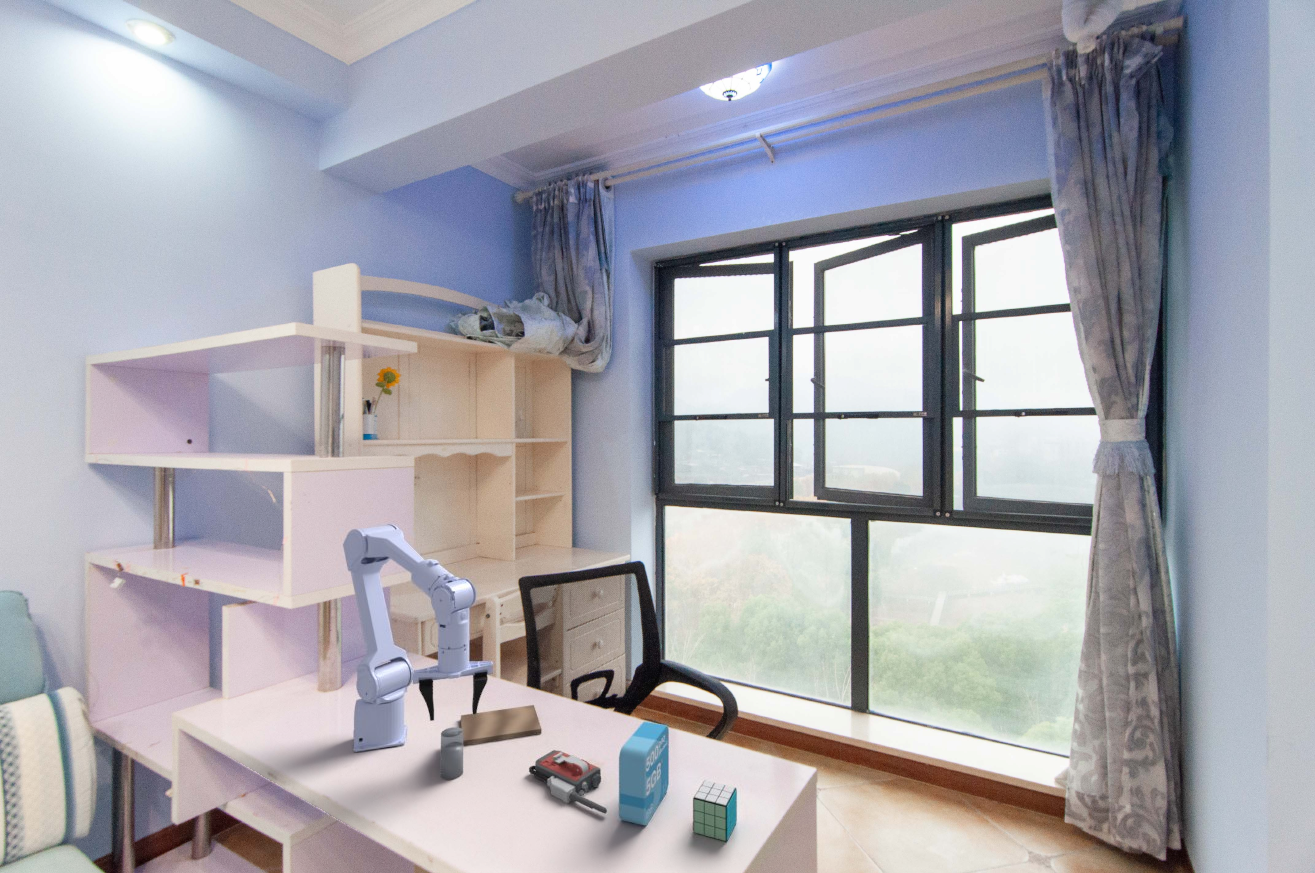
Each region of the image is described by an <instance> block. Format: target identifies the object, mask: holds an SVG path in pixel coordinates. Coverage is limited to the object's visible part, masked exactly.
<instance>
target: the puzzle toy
mask: <svg viewBox="0 0 1315 873" xmlns="http://www.w3.org/2000/svg"><path fill="white" fill-rule="evenodd" d="M737 790H738V789H737V787H735V786H732V785H729V784H728V785H726V784H723V783H718V782H715V781H711V780H707V779H705V780H704V781H703V782H702V783H701V785H700V786H699V788H698V790H697V791H696V793H695V794H694V796H693V798H692V832H693V833H695V834H699V835H701V836H704V837H709V838H712V839H716V840H719V841H723V842H727V841H728V840H729V838H730V836H731V834H732V832H733V830H734V827H735V826H736V823H737V822H738V819H737V818H738V817H737V816H738V815H737V812H738V810H737V809H738V800H737V799H738V798H737V797H738V796H737V795H738V794H737V792H738V791H737Z"/></svg>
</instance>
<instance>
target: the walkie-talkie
mask: <svg viewBox="0 0 1315 873" xmlns="http://www.w3.org/2000/svg"><path fill="white" fill-rule="evenodd" d="M528 772H529V773H530V774H531V775H533V776H534V777H535V779H537V780H539V781H541V782H543V783H545V784H546V785H547V787H549V789H550V794H551V796H553V797H556V798H558V799H559V800H561V801H563V802H564V803H566V804H568V803H570V802H571V801H573V802H577V803H579V804H581V805H583V806H585V807H587V808H589V809H591V810H595V811H597V812H599V813H602V814H607V812H608V811H607V810H608V809H607V808H606V807H605V806H602V805H601V804H599V803H596V802H594V801H593V800H590V799H588V798H587V797H584V796H585V794H586V793H587V792H588V791H590V790H591V789H593V788H598V787H599V786H600V784H601V783H602V782H601V781H602V776H601V768H600V767H598V766H596V765H594V764H591V763H589V762H588V761H587V760H585V759H580V757H578V756H576V755H573V754H572V755H571V754H569V753H565V752H563V751H561V750H556V749H553V750H551V751H550V752H547V753H546V754H545V755H542V756H541V757H539V758H538V759H536V760H535V764H534V765H531V766H529V768H528Z"/></svg>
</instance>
